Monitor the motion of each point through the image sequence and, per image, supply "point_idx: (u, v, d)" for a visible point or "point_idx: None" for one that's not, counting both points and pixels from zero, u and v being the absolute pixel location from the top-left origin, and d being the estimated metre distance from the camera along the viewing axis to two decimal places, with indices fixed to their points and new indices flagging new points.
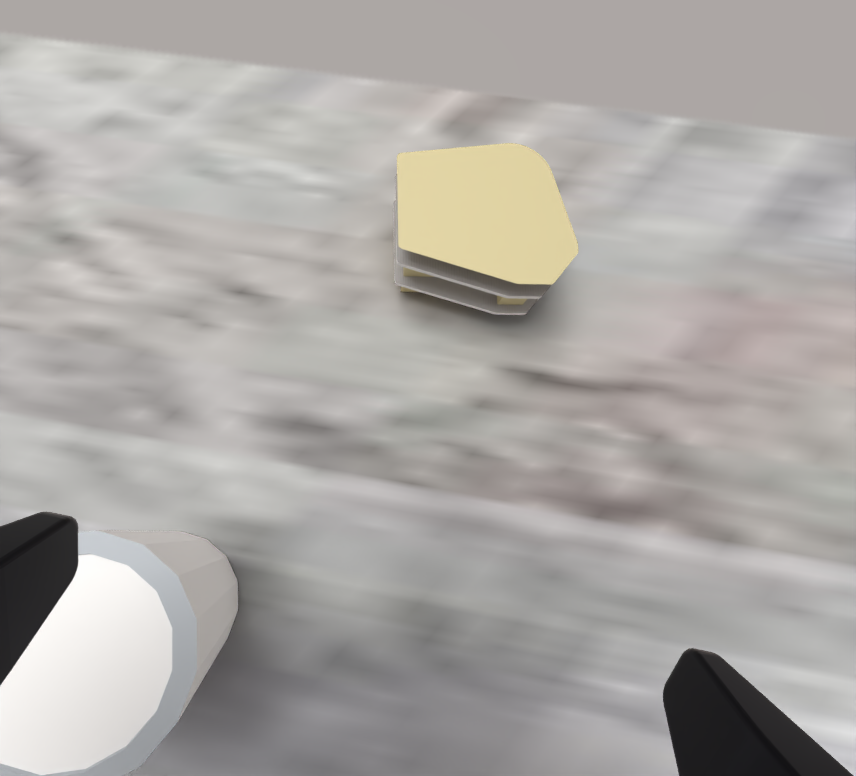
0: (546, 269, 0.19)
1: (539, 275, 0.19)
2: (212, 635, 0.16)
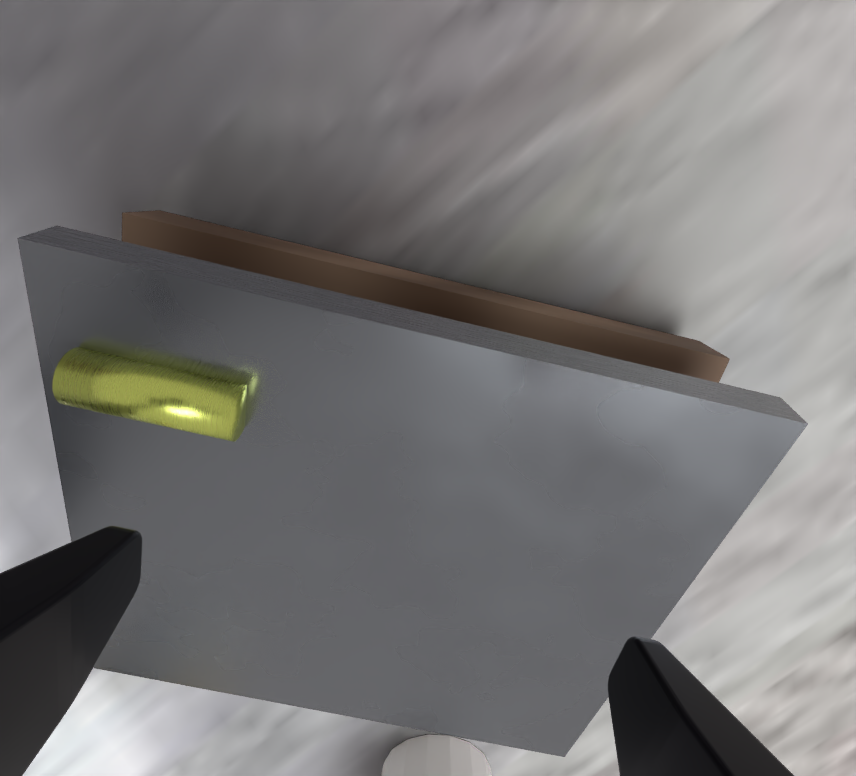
0: None
1: None
2: None
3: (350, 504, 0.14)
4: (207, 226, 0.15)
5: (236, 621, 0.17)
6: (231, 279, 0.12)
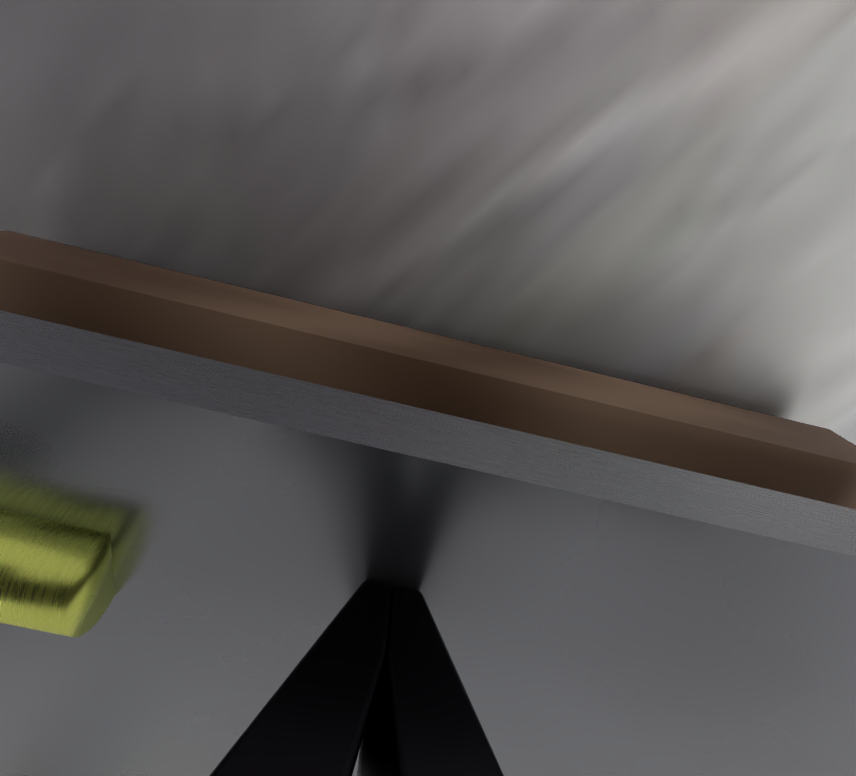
0: None
1: None
2: None
3: None
4: (73, 258, 0.10)
5: None
6: (72, 356, 0.06)
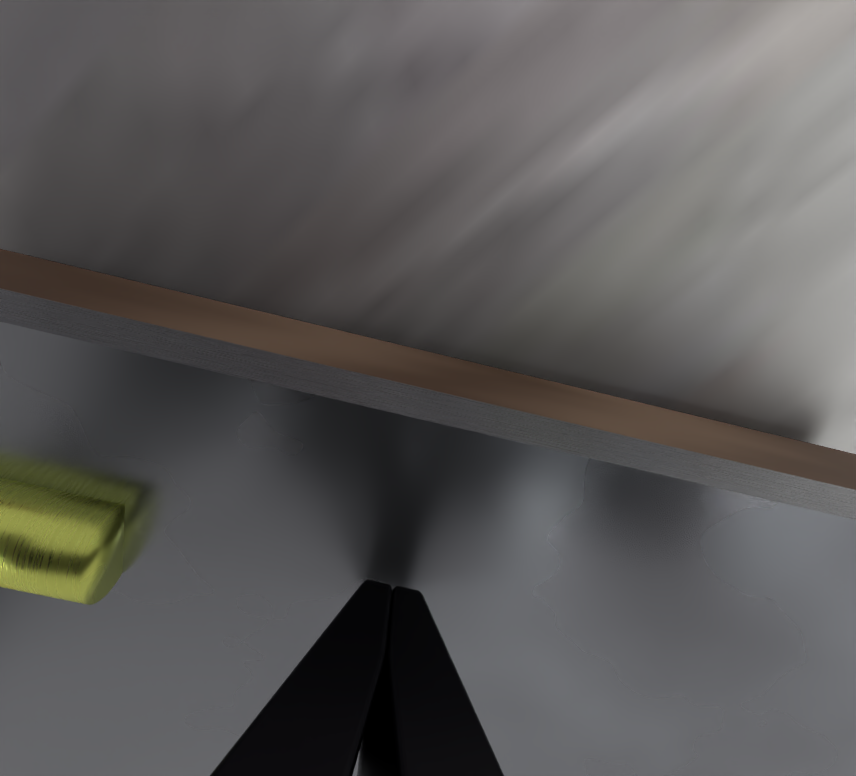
0: None
1: None
2: None
3: None
4: (22, 269, 0.09)
5: None
6: (103, 331, 0.07)
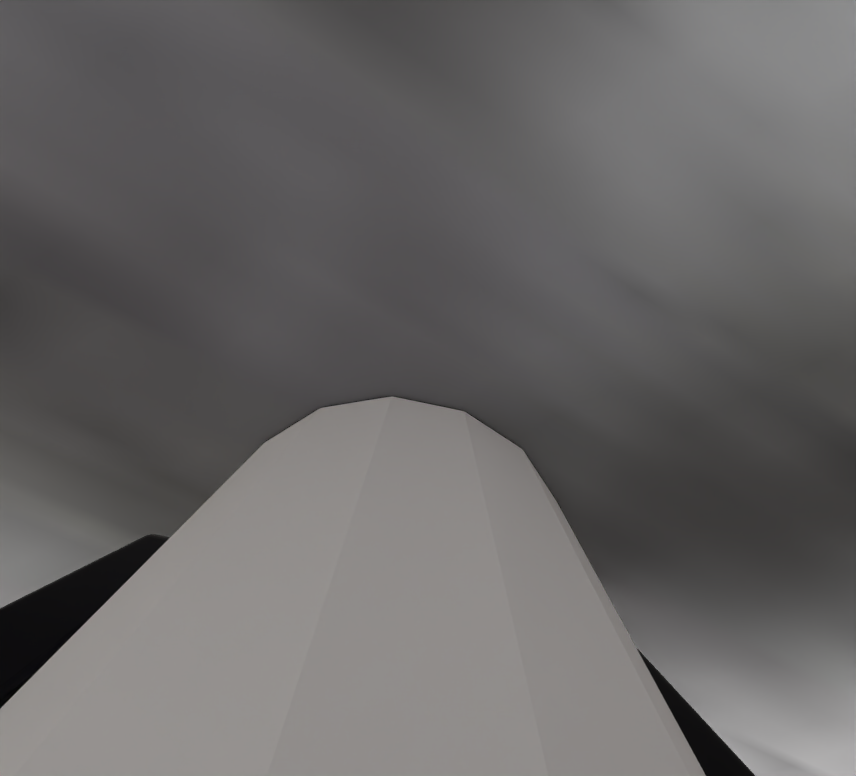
0: None
1: None
2: None
3: None
4: None
5: None
6: None
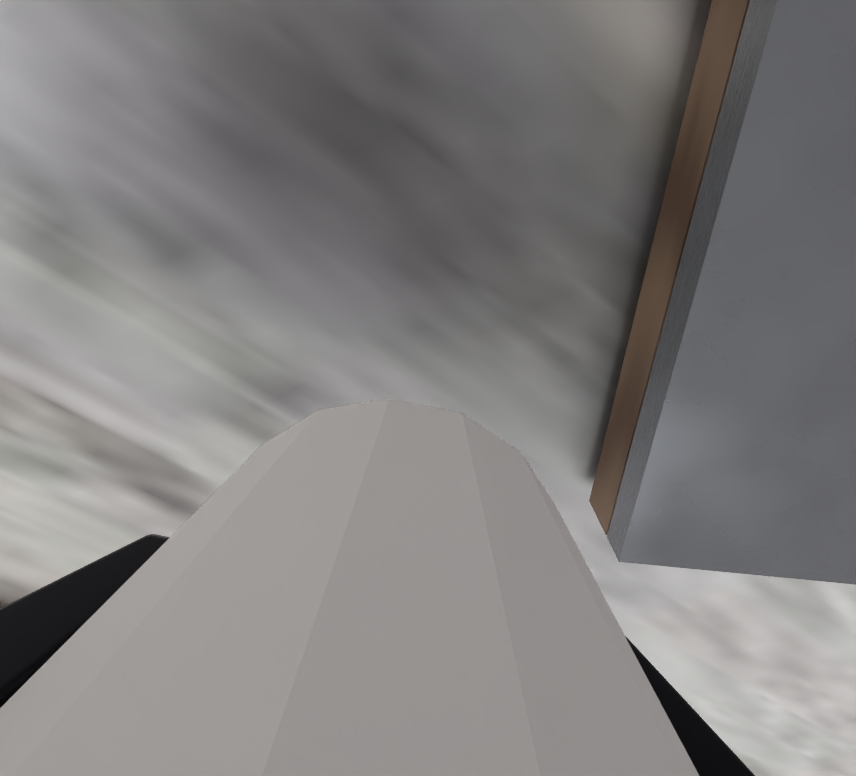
0: None
1: None
2: None
3: None
4: None
5: None
6: None
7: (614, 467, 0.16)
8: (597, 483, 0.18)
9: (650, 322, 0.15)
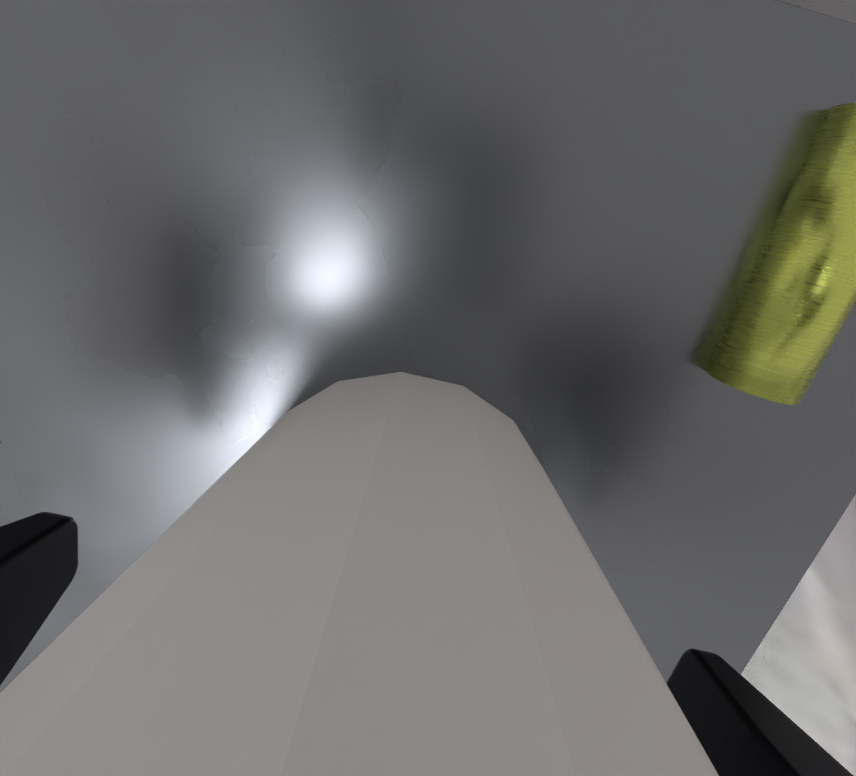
0: None
1: None
2: None
3: None
4: None
5: (233, 260, 0.08)
6: None
7: None
8: None
9: None
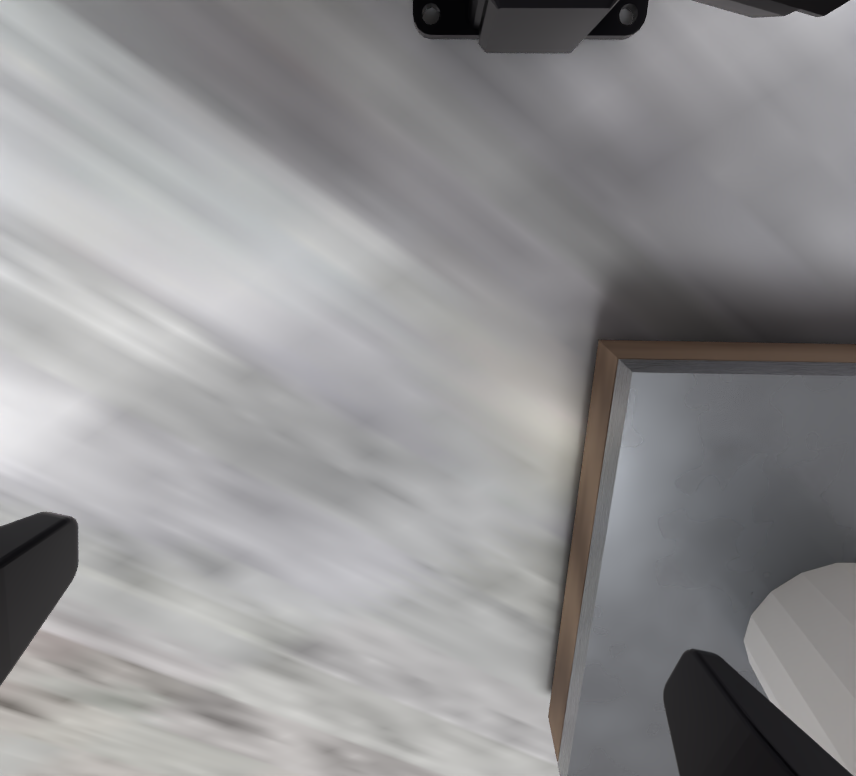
0: None
1: None
2: None
3: None
4: None
5: (751, 529, 0.16)
6: None
7: (559, 711, 0.22)
8: (551, 709, 0.23)
9: (570, 623, 0.20)
